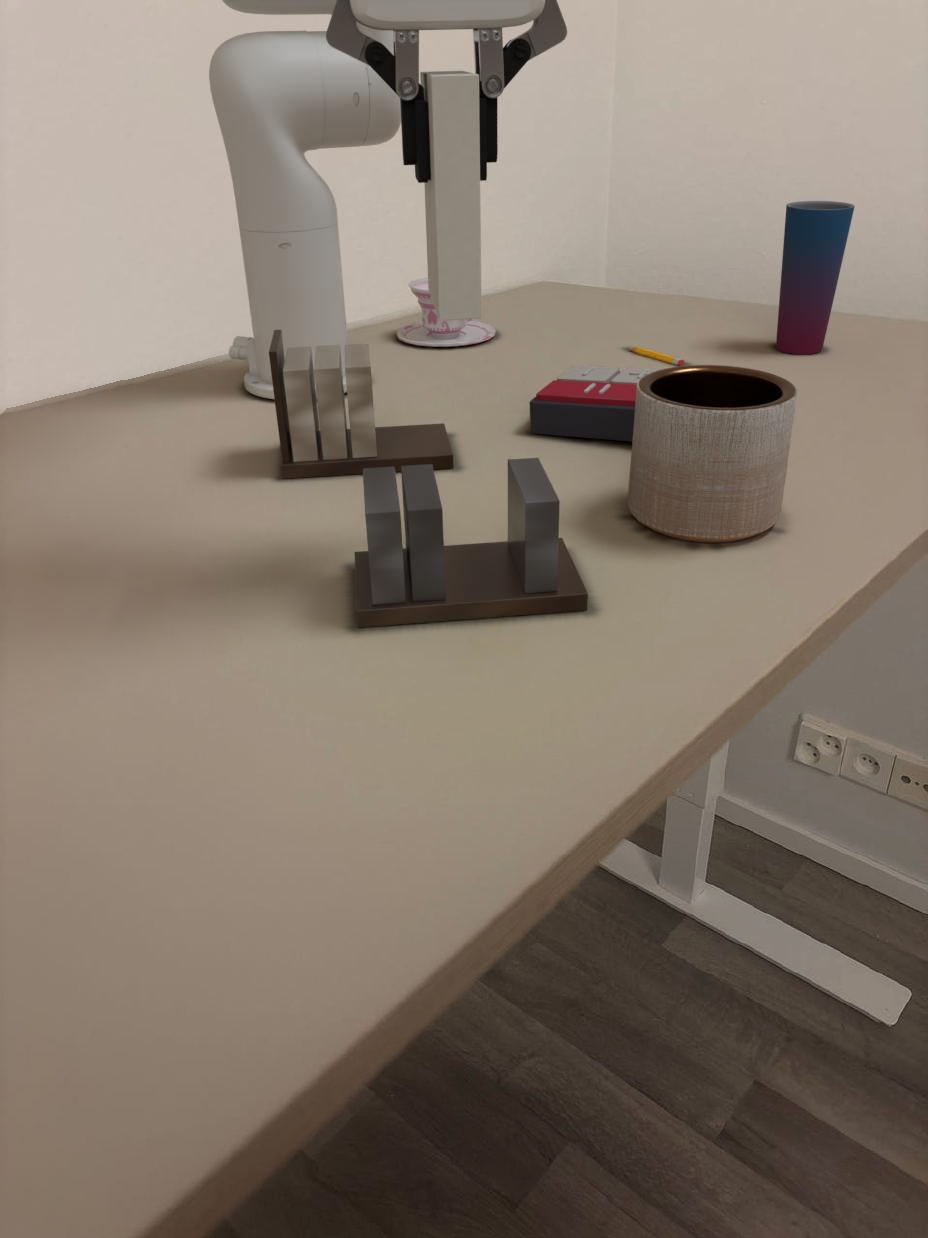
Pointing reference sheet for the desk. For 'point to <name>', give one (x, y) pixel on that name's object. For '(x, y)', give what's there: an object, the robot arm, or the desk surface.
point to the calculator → (588, 403)
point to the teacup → (441, 325)
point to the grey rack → (461, 554)
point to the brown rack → (341, 417)
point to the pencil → (657, 356)
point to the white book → (453, 194)
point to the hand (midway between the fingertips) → (450, 175)
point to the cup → (810, 272)
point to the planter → (710, 451)
